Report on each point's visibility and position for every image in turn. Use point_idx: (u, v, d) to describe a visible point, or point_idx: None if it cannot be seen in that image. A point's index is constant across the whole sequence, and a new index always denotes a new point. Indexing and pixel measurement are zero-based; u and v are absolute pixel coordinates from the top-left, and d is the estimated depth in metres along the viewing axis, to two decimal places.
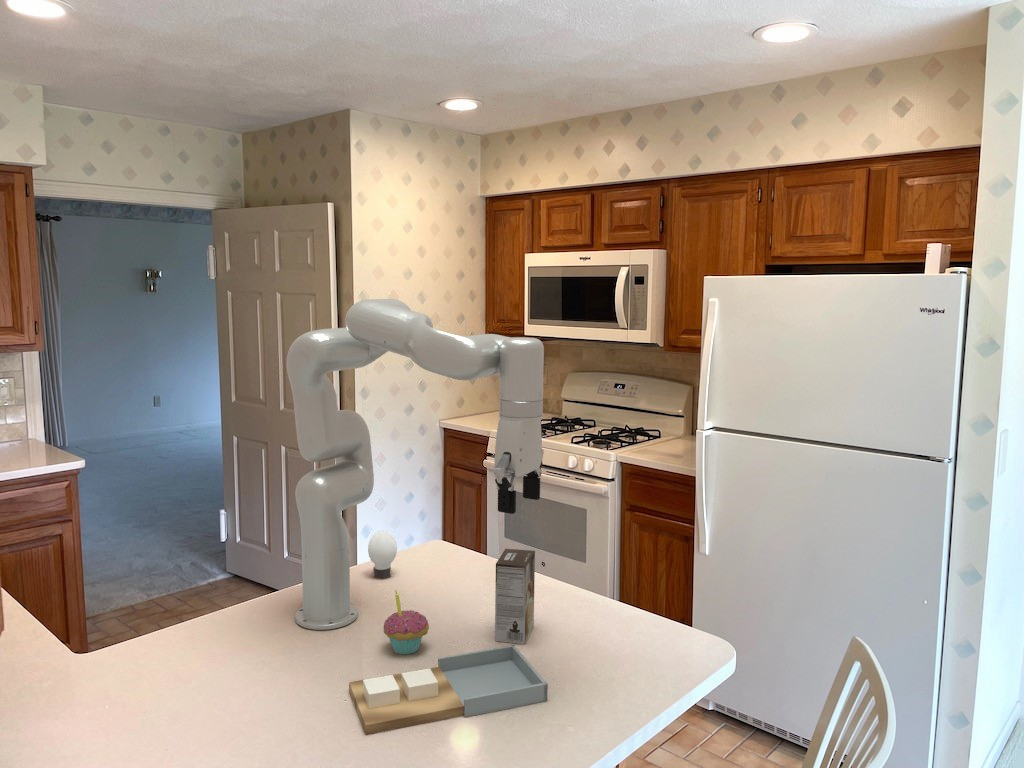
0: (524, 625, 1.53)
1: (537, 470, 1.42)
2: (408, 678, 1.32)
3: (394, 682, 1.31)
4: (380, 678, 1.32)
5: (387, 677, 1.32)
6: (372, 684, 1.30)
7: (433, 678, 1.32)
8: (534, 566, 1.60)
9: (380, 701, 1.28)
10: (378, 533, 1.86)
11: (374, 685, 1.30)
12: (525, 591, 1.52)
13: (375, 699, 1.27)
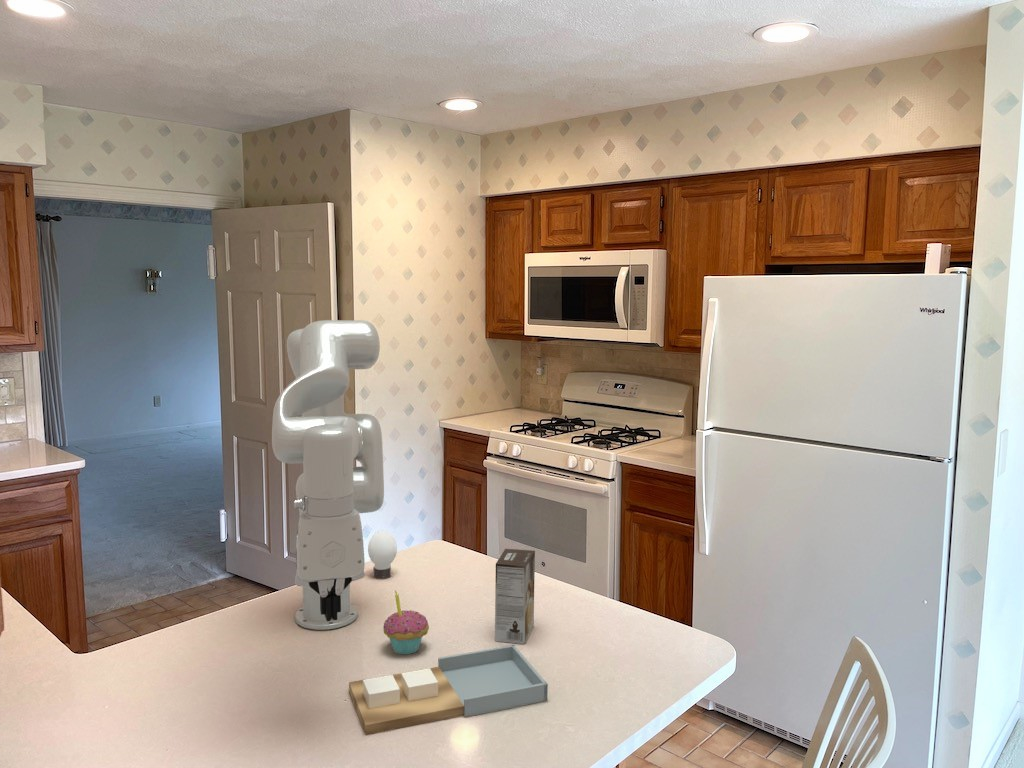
0: (524, 625, 1.53)
1: None
2: (408, 678, 1.32)
3: (394, 682, 1.31)
4: (380, 678, 1.32)
5: (387, 677, 1.32)
6: (372, 684, 1.30)
7: (433, 678, 1.32)
8: (534, 566, 1.60)
9: (380, 701, 1.28)
10: (378, 533, 1.86)
11: (374, 685, 1.30)
12: (525, 591, 1.52)
13: (375, 699, 1.27)
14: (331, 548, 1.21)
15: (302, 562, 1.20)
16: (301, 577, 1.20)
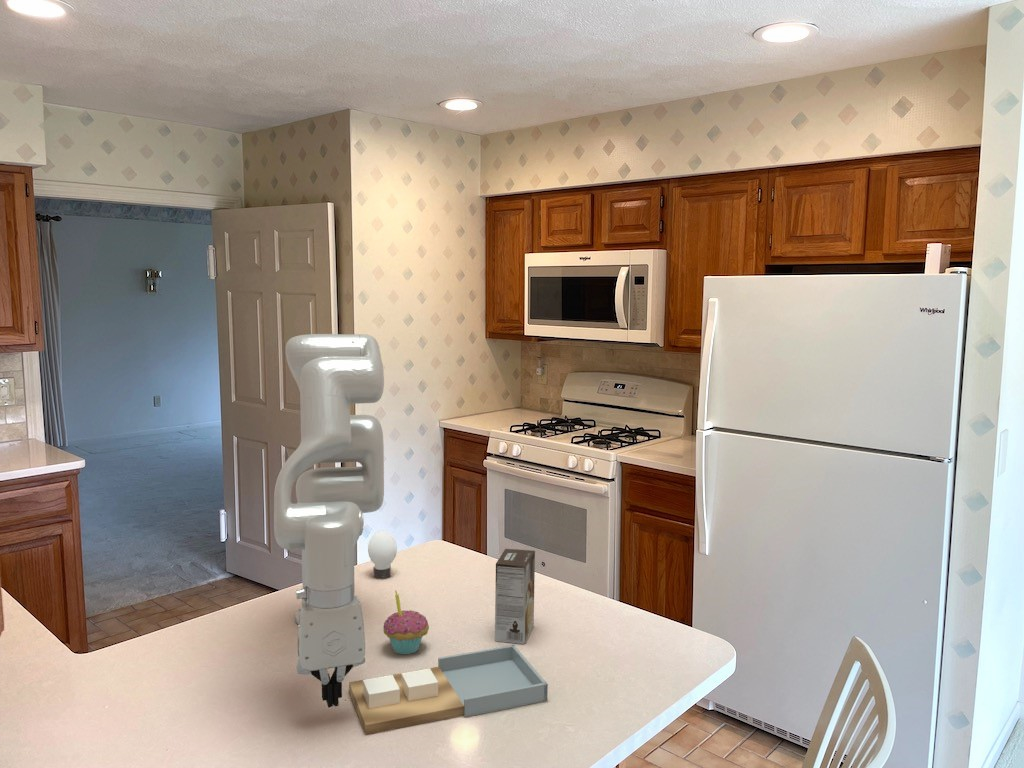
0: (524, 625, 1.53)
1: None
2: (408, 678, 1.32)
3: (394, 682, 1.31)
4: (380, 678, 1.32)
5: (387, 677, 1.32)
6: (372, 684, 1.30)
7: (433, 678, 1.32)
8: (534, 566, 1.60)
9: (380, 701, 1.28)
10: (378, 533, 1.86)
11: (374, 685, 1.30)
12: (525, 591, 1.52)
13: (375, 699, 1.27)
14: (332, 638, 1.23)
15: (304, 652, 1.22)
16: (303, 667, 1.22)
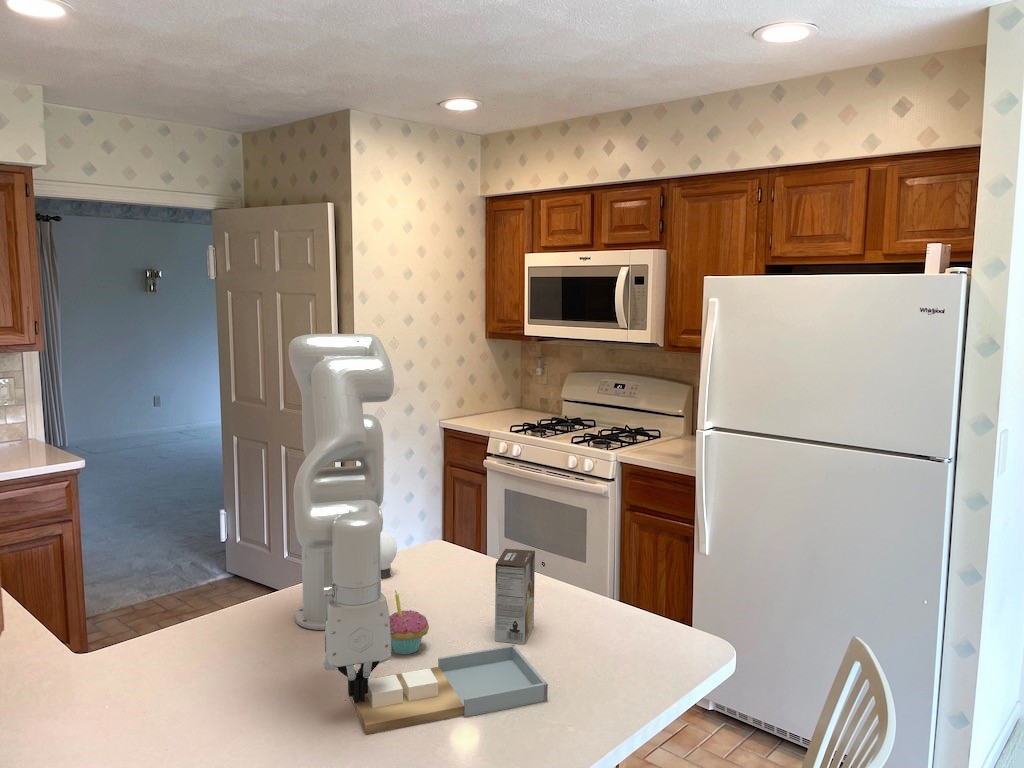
0: (524, 625, 1.53)
1: None
2: (408, 678, 1.32)
3: (397, 682, 1.31)
4: (383, 678, 1.32)
5: (390, 677, 1.33)
6: (375, 684, 1.30)
7: (433, 678, 1.32)
8: (534, 566, 1.60)
9: (383, 700, 1.28)
10: None
11: (377, 685, 1.30)
12: (525, 591, 1.52)
13: (379, 698, 1.28)
14: (359, 634, 1.25)
15: (331, 648, 1.24)
16: (330, 663, 1.24)
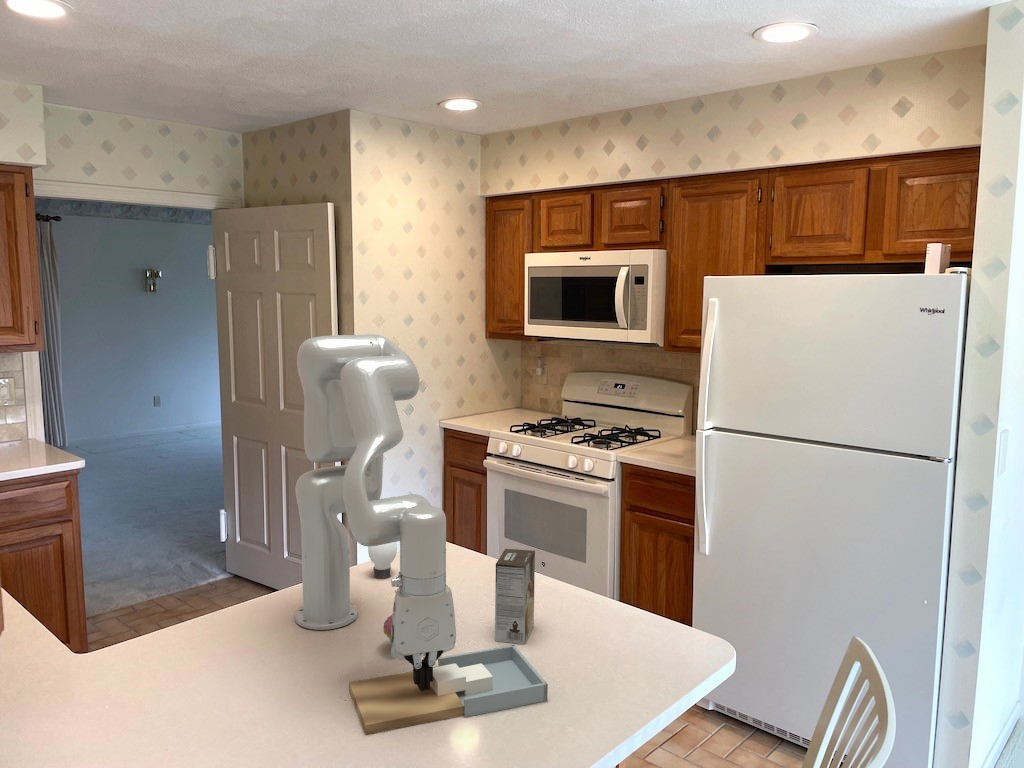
0: (524, 625, 1.53)
1: None
2: None
3: (459, 670, 1.35)
4: (444, 667, 1.36)
5: (451, 665, 1.37)
6: (438, 673, 1.34)
7: (487, 672, 1.37)
8: (534, 566, 1.60)
9: (448, 688, 1.32)
10: None
11: (441, 674, 1.34)
12: (525, 591, 1.52)
13: (444, 686, 1.32)
14: (426, 624, 1.29)
15: (400, 637, 1.27)
16: (398, 651, 1.28)
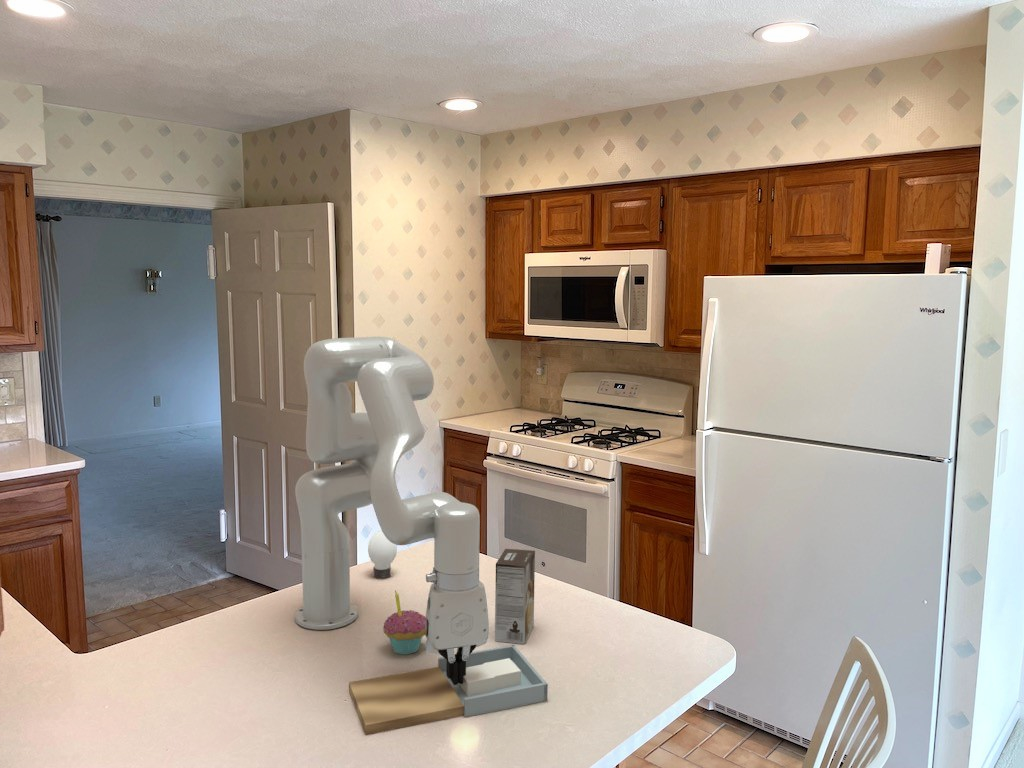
0: (524, 625, 1.53)
1: None
2: (491, 667, 1.39)
3: (488, 671, 1.37)
4: (473, 667, 1.38)
5: (480, 666, 1.39)
6: (467, 673, 1.36)
7: (515, 667, 1.39)
8: (534, 566, 1.60)
9: (477, 689, 1.34)
10: (378, 533, 1.86)
11: (470, 674, 1.36)
12: (525, 591, 1.52)
13: (473, 687, 1.34)
14: (460, 619, 1.31)
15: (435, 632, 1.30)
16: (433, 646, 1.30)
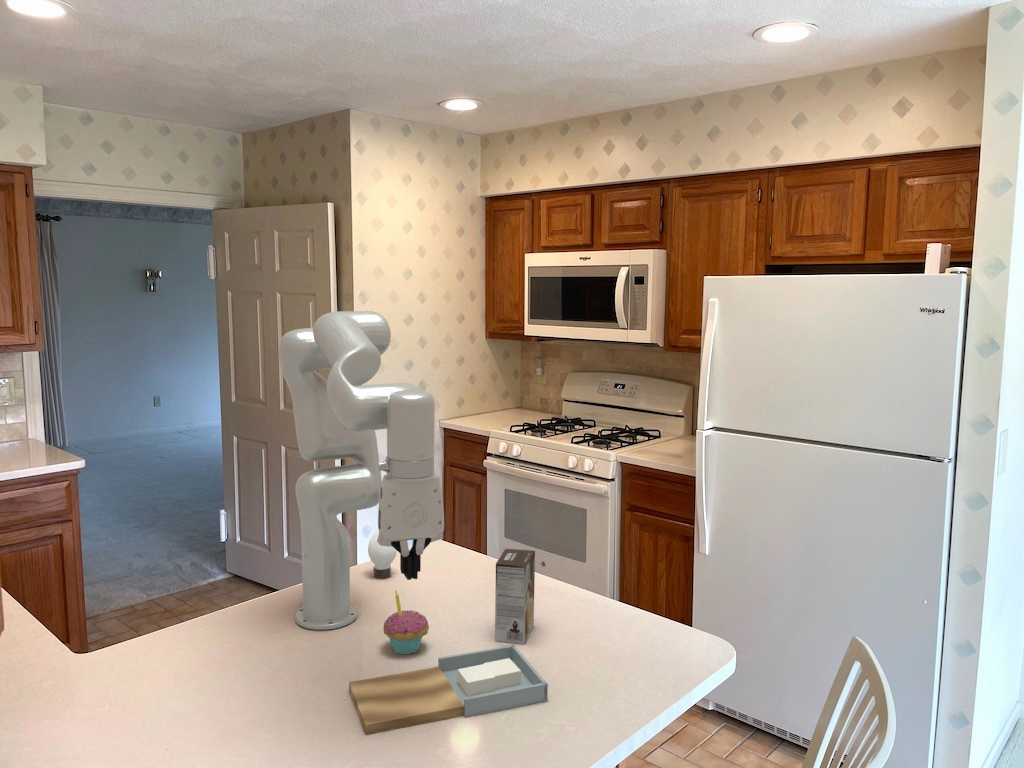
0: (524, 625, 1.53)
1: None
2: (491, 667, 1.39)
3: (488, 671, 1.37)
4: (473, 667, 1.38)
5: (480, 666, 1.39)
6: (467, 673, 1.36)
7: (515, 667, 1.39)
8: (534, 566, 1.60)
9: (477, 689, 1.34)
10: (378, 533, 1.86)
11: (470, 674, 1.36)
12: (525, 591, 1.52)
13: (473, 687, 1.34)
14: (413, 509, 1.26)
15: (386, 522, 1.24)
16: (385, 536, 1.25)
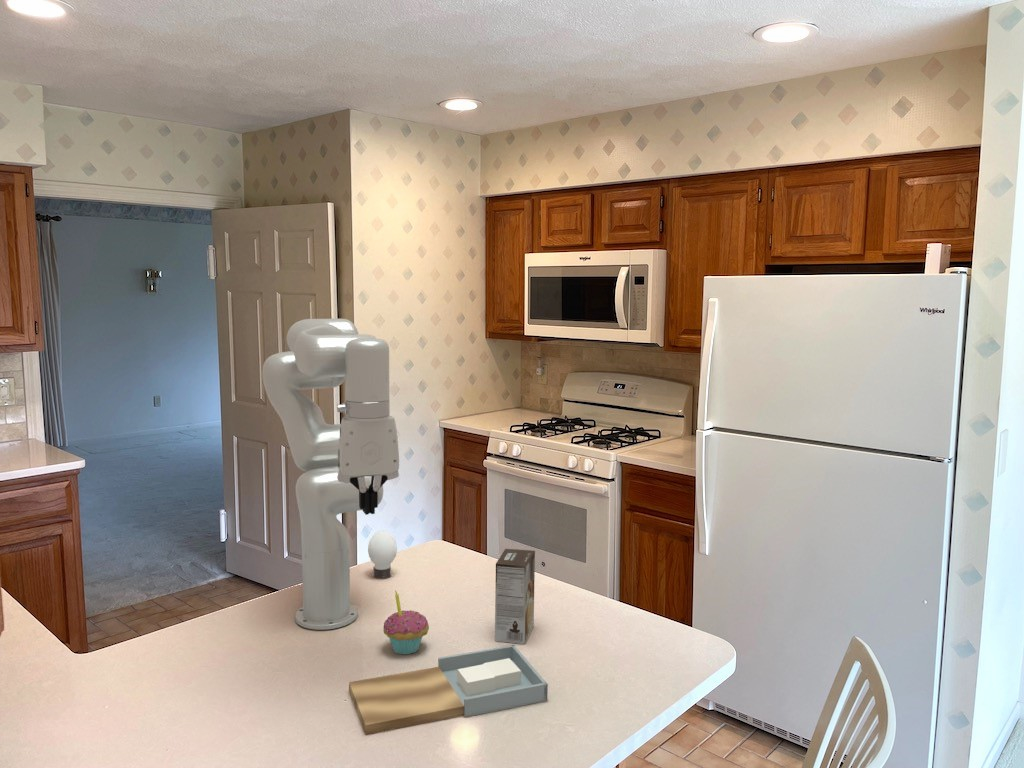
0: (524, 625, 1.53)
1: None
2: (491, 667, 1.39)
3: (488, 671, 1.37)
4: (473, 667, 1.38)
5: (480, 666, 1.39)
6: (467, 673, 1.36)
7: (515, 667, 1.39)
8: (534, 566, 1.60)
9: (477, 689, 1.34)
10: (378, 533, 1.86)
11: (470, 674, 1.36)
12: (525, 591, 1.52)
13: (473, 687, 1.34)
14: (370, 447, 1.36)
15: (344, 459, 1.35)
16: (343, 472, 1.35)
